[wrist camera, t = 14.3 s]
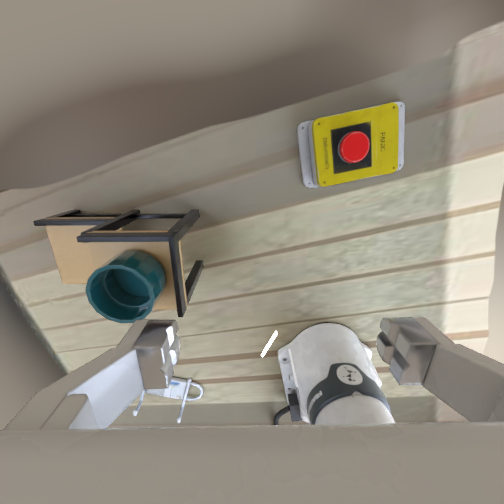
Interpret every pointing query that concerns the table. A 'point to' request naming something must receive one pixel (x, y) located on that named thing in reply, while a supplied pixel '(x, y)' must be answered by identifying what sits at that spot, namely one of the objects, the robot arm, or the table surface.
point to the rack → (122, 249)
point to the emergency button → (352, 145)
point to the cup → (126, 286)
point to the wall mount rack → (173, 393)
